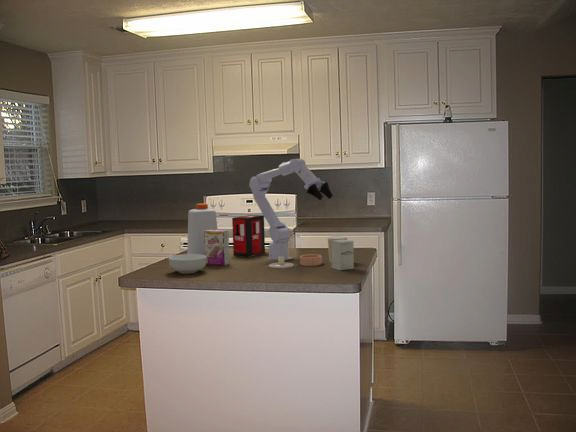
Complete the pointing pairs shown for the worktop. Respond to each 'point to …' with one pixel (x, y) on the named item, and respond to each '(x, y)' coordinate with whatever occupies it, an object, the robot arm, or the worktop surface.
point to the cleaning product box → (248, 235)
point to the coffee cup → (331, 244)
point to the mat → (280, 268)
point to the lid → (281, 263)
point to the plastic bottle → (199, 227)
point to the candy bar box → (216, 247)
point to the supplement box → (342, 254)
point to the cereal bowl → (187, 263)
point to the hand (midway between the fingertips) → (326, 197)
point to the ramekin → (310, 260)
